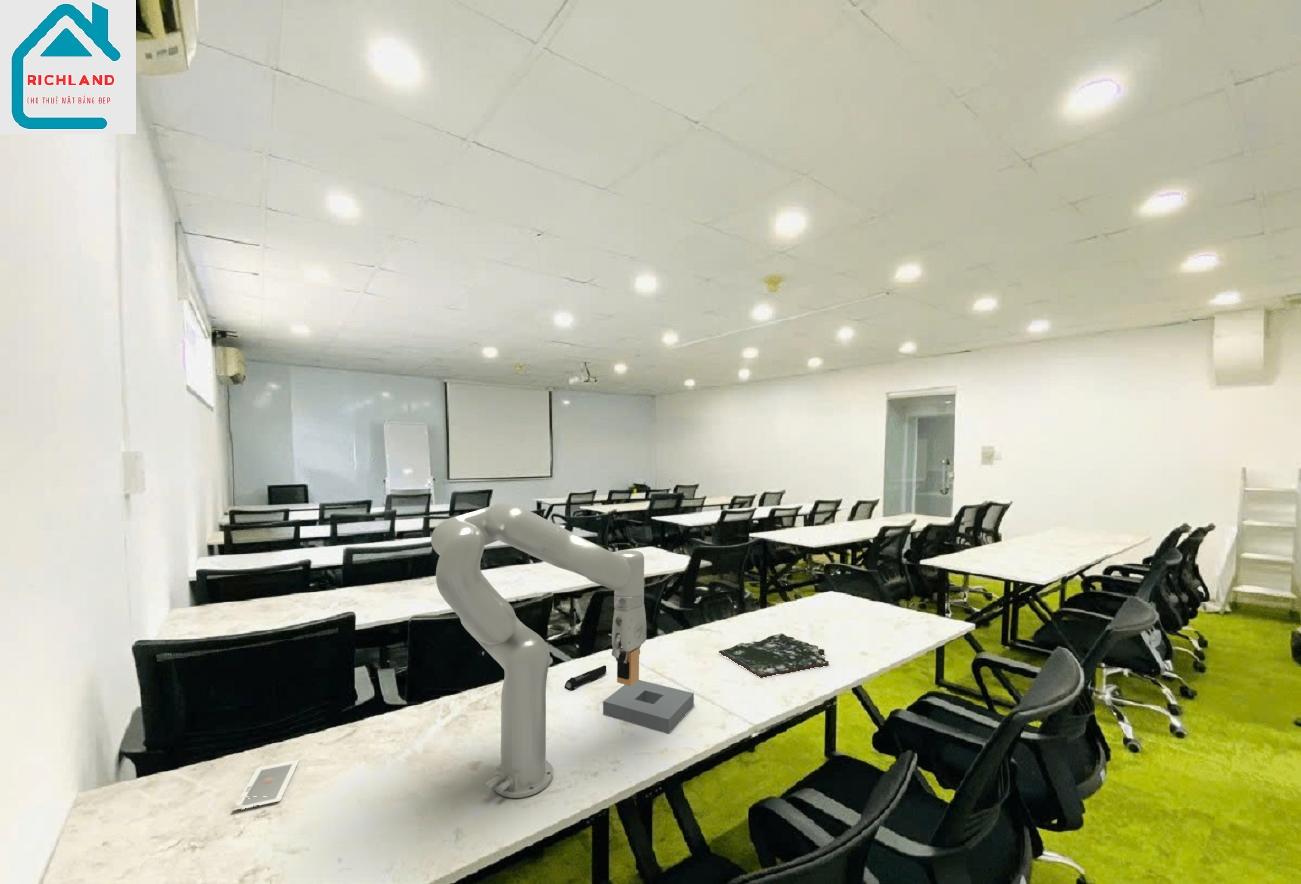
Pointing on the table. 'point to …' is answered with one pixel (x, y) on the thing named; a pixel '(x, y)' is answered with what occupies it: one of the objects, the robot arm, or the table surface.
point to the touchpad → (268, 784)
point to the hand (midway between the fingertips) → (628, 673)
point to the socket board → (649, 705)
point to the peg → (631, 668)
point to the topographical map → (776, 655)
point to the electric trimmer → (585, 678)
